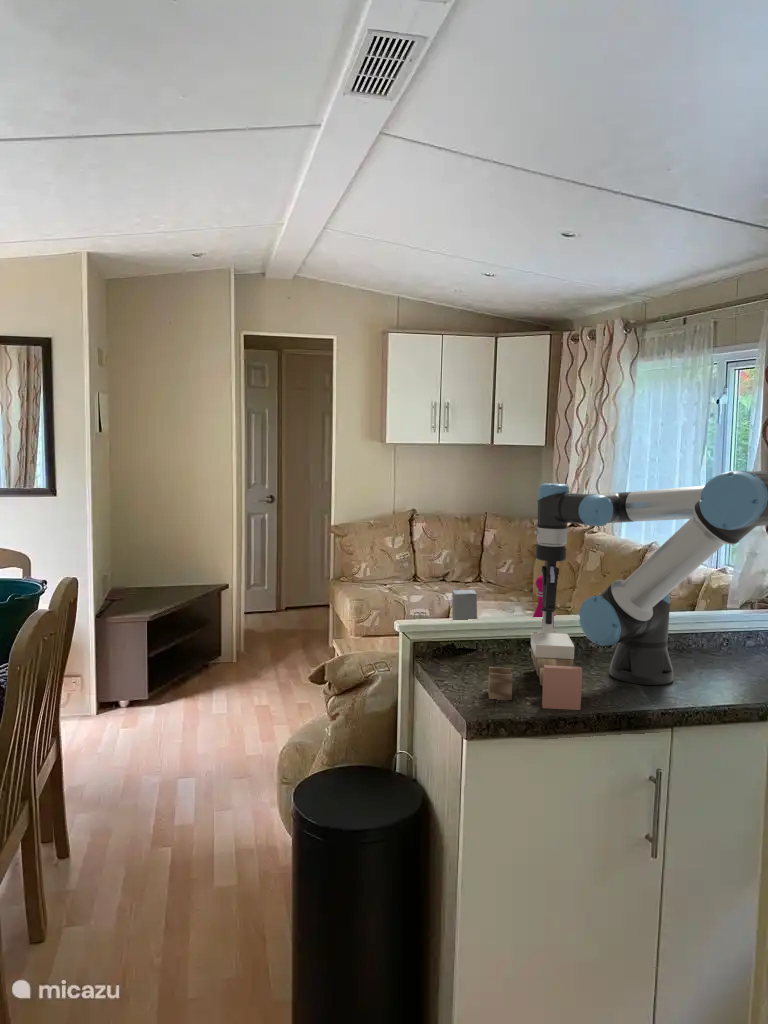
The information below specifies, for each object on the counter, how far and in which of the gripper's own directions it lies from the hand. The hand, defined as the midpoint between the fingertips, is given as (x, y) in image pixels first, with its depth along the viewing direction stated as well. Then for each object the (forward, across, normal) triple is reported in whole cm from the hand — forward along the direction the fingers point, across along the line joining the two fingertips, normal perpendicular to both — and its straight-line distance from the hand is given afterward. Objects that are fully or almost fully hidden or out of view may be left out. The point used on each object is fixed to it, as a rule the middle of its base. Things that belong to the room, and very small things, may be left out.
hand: (547, 635), depth 208 cm
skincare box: (+9, -18, -21) cm, 29 cm away
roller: (+5, +26, 0) cm, 26 cm away
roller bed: (+8, +16, 0) cm, 18 cm away
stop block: (+8, +32, 0) cm, 33 cm away
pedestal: (+8, +26, -13) cm, 30 cm away
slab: (+1, +10, 0) cm, 11 cm away
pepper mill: (+9, -36, +3) cm, 37 cm away
